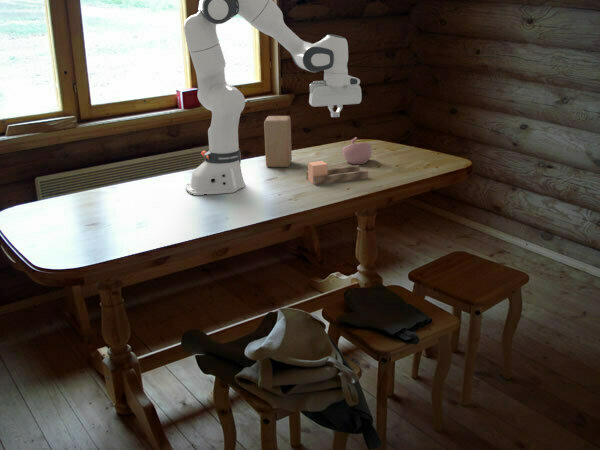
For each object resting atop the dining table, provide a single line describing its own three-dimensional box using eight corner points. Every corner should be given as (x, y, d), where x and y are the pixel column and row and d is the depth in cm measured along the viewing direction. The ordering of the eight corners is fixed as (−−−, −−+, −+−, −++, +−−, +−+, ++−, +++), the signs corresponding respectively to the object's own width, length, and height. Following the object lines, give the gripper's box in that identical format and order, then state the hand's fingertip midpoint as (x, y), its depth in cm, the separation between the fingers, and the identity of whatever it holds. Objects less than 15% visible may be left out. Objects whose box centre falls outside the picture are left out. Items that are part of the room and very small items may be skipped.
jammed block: (312, 183, 245) (312, 165, 242) (308, 180, 249) (307, 162, 247) (327, 181, 247) (327, 164, 244) (322, 178, 251) (322, 160, 249)
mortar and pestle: (364, 159, 279) (364, 133, 275) (376, 166, 268) (376, 139, 264) (338, 162, 276) (338, 136, 272) (349, 170, 265) (349, 142, 261)
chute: (314, 188, 243) (314, 178, 242) (306, 181, 251) (306, 171, 250) (367, 181, 250) (367, 171, 249) (357, 174, 258) (358, 165, 257)
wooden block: (292, 161, 279) (290, 115, 272) (289, 168, 270) (288, 120, 263) (269, 161, 280) (267, 115, 273) (265, 167, 271) (263, 120, 264)
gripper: (312, 82, 235) (312, 120, 240) (363, 79, 241) (362, 116, 246) (306, 80, 241) (306, 117, 245) (357, 77, 247) (356, 113, 252)
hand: (335, 116), depth 246 cm, fingers closed
